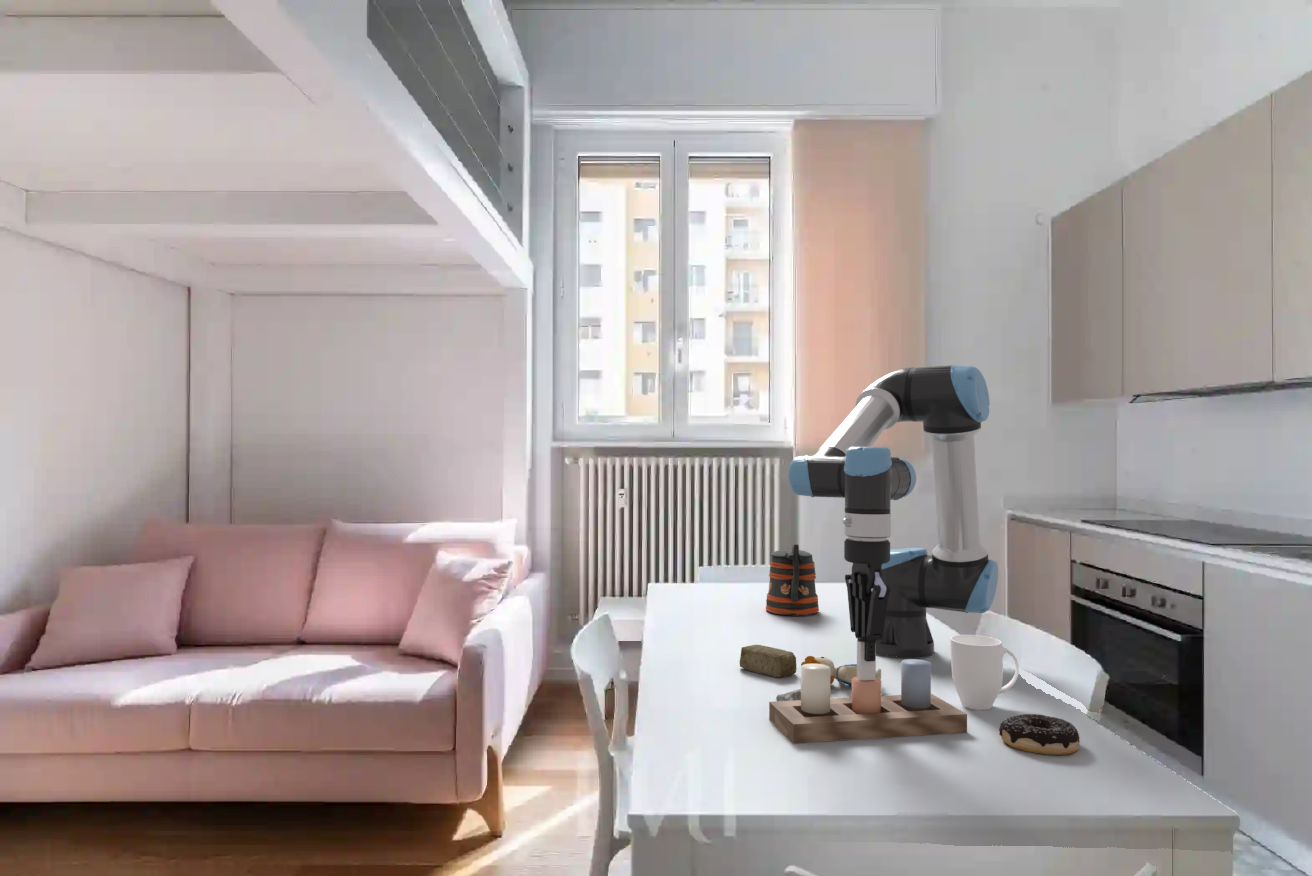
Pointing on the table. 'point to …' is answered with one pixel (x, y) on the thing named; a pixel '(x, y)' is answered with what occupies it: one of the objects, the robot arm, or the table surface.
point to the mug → (979, 669)
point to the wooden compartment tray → (866, 720)
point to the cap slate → (916, 683)
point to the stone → (790, 696)
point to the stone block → (768, 661)
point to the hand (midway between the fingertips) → (866, 678)
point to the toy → (838, 670)
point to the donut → (1040, 734)
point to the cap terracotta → (866, 696)
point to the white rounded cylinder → (815, 688)
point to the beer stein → (792, 583)
